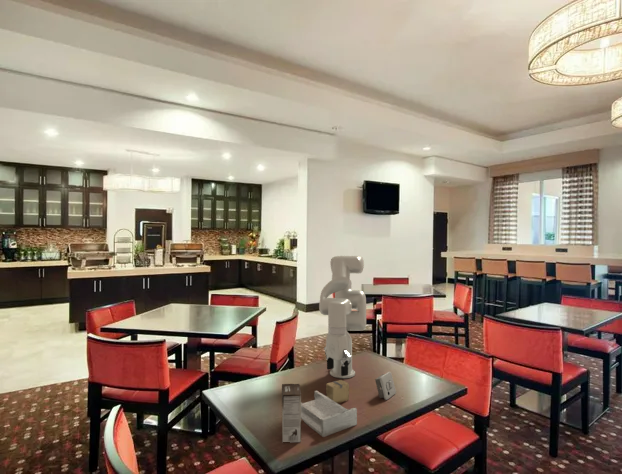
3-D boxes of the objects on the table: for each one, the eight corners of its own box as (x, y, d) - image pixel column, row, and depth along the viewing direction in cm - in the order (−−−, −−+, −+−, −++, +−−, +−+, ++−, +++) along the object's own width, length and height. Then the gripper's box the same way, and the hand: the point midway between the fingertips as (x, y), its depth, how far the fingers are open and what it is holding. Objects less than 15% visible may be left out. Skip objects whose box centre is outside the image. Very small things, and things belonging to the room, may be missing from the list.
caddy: (288, 409, 144) (288, 395, 144) (319, 400, 152) (319, 386, 152) (323, 437, 124) (323, 420, 124) (356, 424, 132) (356, 408, 132)
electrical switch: (386, 401, 151) (384, 378, 152) (375, 398, 154) (373, 376, 155) (396, 393, 158) (394, 371, 159) (385, 391, 162) (384, 370, 162)
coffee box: (281, 429, 129) (281, 383, 129) (299, 428, 130) (299, 382, 130) (281, 443, 120) (281, 394, 120) (301, 442, 120) (301, 393, 121)
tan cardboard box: (326, 400, 152) (326, 383, 152) (341, 395, 156) (341, 379, 156) (333, 405, 148) (333, 387, 148) (348, 400, 152) (348, 383, 152)
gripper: (318, 328, 157) (318, 368, 157) (343, 336, 143) (343, 380, 142) (332, 326, 161) (332, 365, 161) (357, 333, 147) (357, 376, 146)
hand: (337, 372), depth 151 cm, fingers open, 9 cm apart
